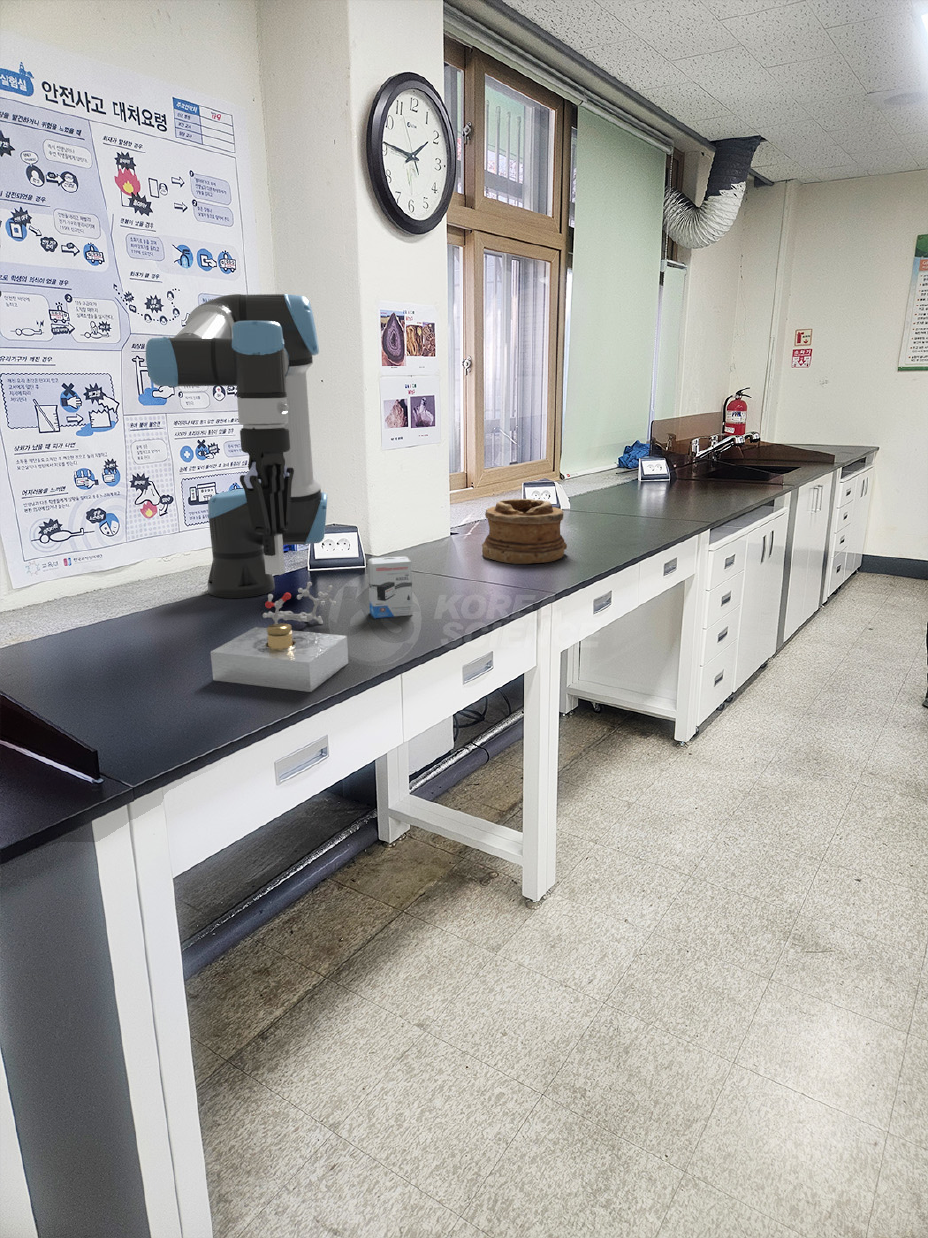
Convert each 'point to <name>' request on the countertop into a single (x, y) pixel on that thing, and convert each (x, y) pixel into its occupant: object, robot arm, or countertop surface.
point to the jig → (280, 660)
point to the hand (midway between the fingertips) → (275, 573)
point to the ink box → (390, 587)
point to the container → (524, 532)
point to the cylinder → (279, 636)
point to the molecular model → (302, 616)
